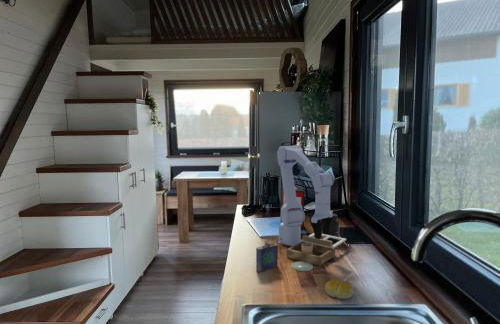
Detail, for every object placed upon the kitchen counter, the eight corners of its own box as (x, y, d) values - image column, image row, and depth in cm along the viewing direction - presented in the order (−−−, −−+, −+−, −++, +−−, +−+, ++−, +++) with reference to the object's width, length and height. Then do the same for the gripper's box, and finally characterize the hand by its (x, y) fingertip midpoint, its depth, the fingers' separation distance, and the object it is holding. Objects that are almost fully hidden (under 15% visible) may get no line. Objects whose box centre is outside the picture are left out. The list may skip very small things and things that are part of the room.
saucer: (287, 268, 135) (287, 266, 135) (298, 261, 142) (298, 259, 141) (306, 274, 130) (306, 271, 130) (316, 266, 137) (316, 264, 137)
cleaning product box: (303, 229, 183) (304, 191, 181) (286, 230, 182) (286, 191, 180) (296, 220, 199) (296, 185, 197) (280, 221, 198) (280, 185, 196)
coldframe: (286, 257, 146) (286, 249, 146) (302, 248, 156) (302, 240, 156) (320, 266, 137) (320, 257, 136) (335, 256, 147) (335, 248, 147)
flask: (258, 273, 131) (258, 244, 130) (254, 270, 134) (254, 242, 133) (279, 267, 136) (279, 240, 135) (274, 265, 139) (274, 238, 137)
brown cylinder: (299, 258, 144) (299, 244, 144) (304, 254, 148) (304, 241, 147) (309, 260, 142) (309, 246, 141) (314, 257, 145) (314, 243, 145)
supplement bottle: (339, 242, 163) (340, 216, 162) (324, 241, 165) (324, 216, 163) (338, 237, 170) (339, 213, 168) (324, 237, 171) (324, 212, 170)
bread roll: (329, 285, 122) (329, 273, 122) (356, 291, 117) (356, 280, 117) (320, 295, 115) (320, 283, 115) (348, 302, 110) (348, 290, 110)
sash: (300, 241, 154) (300, 235, 154) (314, 233, 164) (315, 228, 164) (333, 248, 145) (333, 242, 145) (346, 240, 155) (346, 234, 155)
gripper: (323, 207, 133) (322, 243, 135) (339, 200, 145) (339, 233, 146) (306, 205, 138) (306, 239, 139) (323, 198, 149) (323, 230, 151)
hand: (322, 236), depth 143 cm, fingers open, 6 cm apart
